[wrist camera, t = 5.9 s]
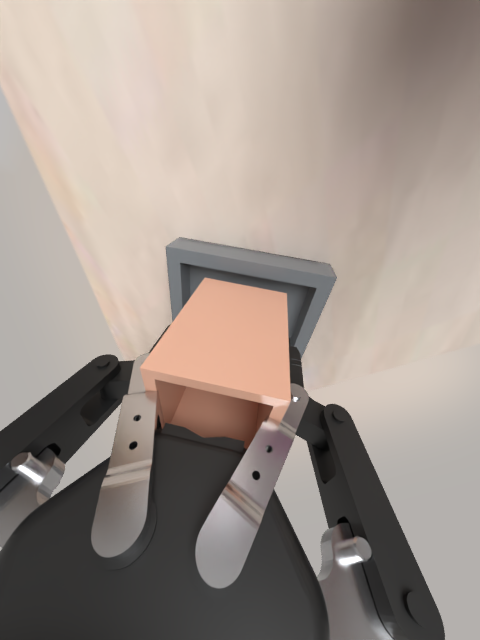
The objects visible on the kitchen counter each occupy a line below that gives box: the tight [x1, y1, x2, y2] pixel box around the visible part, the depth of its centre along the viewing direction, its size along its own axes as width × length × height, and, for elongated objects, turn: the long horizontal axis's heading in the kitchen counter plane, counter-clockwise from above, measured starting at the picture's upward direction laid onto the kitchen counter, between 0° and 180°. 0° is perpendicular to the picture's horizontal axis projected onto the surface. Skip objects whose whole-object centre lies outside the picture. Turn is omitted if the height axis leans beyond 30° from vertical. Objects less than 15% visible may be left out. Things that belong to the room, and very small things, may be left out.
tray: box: [166, 237, 337, 358], centre depth 19 cm, size 12×14×2 cm
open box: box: [140, 278, 291, 449], centre depth 12 cm, size 6×6×8 cm
